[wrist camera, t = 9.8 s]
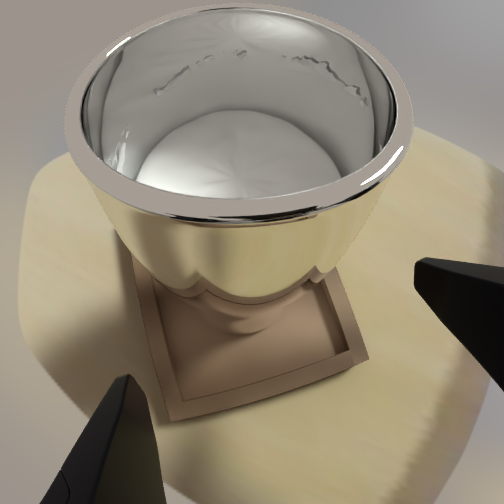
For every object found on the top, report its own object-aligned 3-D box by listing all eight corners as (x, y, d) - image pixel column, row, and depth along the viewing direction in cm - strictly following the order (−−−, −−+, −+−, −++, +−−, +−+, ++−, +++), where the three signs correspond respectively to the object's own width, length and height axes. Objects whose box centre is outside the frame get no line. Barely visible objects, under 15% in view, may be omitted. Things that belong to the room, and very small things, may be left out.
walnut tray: (359, 360, 18) (369, 359, 16) (176, 417, 16) (170, 421, 15) (288, 177, 23) (291, 164, 21) (131, 218, 21) (124, 207, 19)
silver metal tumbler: (209, 360, 17) (74, 329, 3) (168, 257, 19) (59, 49, 5) (315, 313, 18) (487, 159, 4) (267, 218, 20) (303, -8, 6)
